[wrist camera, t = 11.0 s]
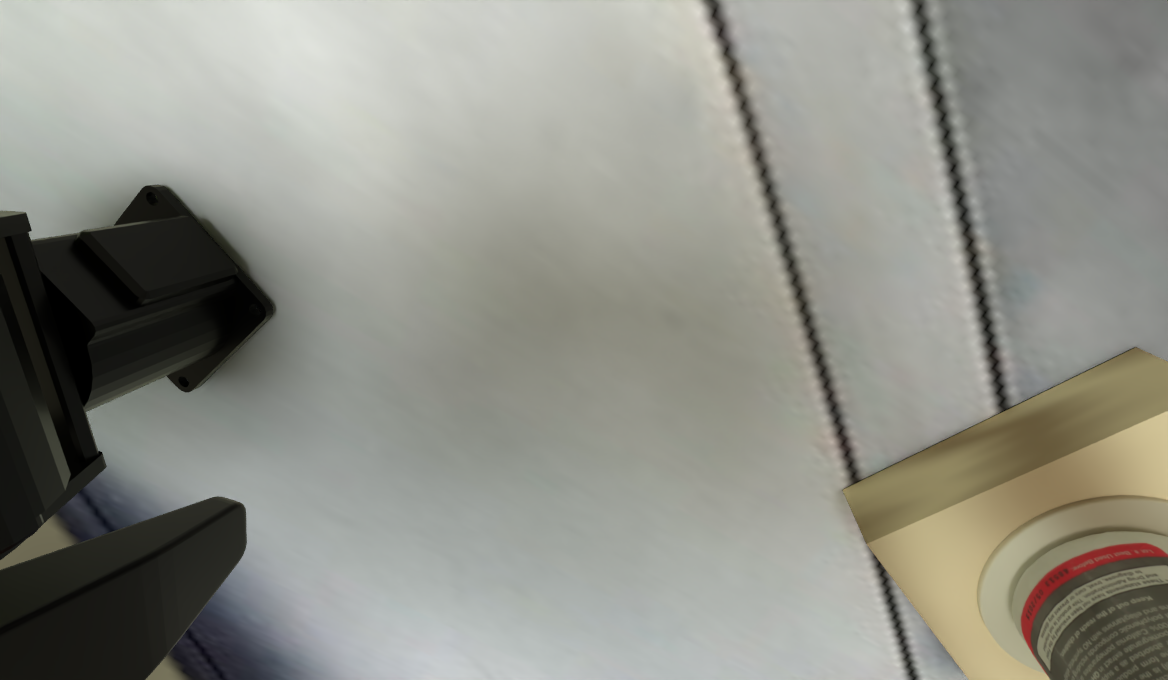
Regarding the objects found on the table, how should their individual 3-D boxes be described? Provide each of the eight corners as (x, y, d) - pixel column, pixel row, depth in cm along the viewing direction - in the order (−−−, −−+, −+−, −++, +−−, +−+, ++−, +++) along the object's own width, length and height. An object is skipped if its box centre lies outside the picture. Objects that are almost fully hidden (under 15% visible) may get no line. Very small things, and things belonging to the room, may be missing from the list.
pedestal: (974, 667, 22) (1020, 750, 19) (842, 489, 21) (869, 550, 18) (1267, 569, 19) (1379, 651, 16) (1136, 347, 17) (1232, 391, 14)
